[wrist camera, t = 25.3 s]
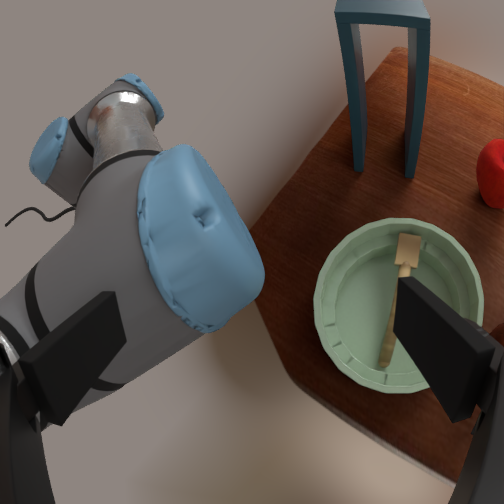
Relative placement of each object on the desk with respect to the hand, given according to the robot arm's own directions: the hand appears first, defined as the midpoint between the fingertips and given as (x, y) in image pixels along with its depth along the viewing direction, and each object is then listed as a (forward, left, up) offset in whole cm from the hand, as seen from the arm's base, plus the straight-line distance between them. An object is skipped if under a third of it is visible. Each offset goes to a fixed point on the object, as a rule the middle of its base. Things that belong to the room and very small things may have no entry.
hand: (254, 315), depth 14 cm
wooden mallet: (+9, +9, -25) cm, 28 cm away
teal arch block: (+5, +35, -28) cm, 46 cm away
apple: (+24, +29, -29) cm, 47 cm away
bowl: (+9, +8, -28) cm, 31 cm away
